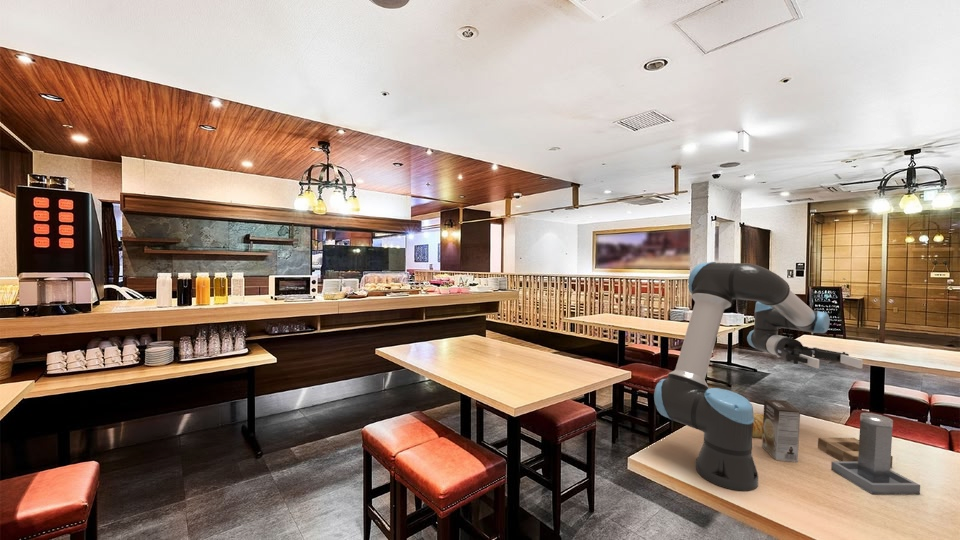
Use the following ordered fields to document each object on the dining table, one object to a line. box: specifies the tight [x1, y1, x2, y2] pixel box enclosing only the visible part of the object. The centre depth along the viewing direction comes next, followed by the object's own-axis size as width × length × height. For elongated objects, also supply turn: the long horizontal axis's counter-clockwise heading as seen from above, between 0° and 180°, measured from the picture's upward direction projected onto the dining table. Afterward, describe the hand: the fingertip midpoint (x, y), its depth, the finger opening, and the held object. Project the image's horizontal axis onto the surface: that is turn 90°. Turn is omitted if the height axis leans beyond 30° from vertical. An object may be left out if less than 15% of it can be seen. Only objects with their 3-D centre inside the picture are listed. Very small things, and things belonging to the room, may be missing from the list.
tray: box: [830, 460, 921, 495], centre depth 111 cm, size 13×12×2 cm
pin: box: [857, 412, 894, 483], centre depth 111 cm, size 6×6×18 cm
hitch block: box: [817, 437, 894, 469], centre depth 124 cm, size 12×12×4 cm
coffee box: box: [761, 399, 801, 463], centre depth 126 cm, size 9×6×16 cm
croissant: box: [752, 413, 764, 439], centre depth 141 cm, size 21×10×8 cm, turn 97°
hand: (839, 364), depth 122 cm, fingers open, 13 cm apart
